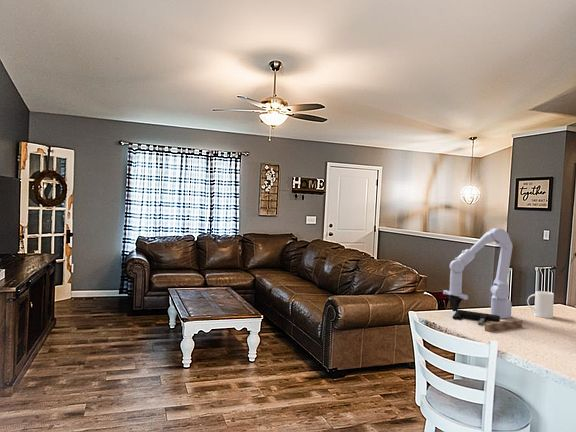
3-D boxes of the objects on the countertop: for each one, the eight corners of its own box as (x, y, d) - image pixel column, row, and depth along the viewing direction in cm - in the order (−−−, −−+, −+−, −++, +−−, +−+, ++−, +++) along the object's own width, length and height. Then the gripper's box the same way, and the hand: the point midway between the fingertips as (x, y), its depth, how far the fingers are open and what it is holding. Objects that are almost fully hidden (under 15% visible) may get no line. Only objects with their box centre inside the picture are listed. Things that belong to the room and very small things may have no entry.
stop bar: (518, 325, 204) (518, 319, 204) (522, 326, 202) (522, 320, 202) (484, 330, 195) (484, 323, 194) (488, 331, 193) (488, 324, 193)
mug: (526, 315, 224) (527, 292, 224) (526, 312, 232) (527, 289, 232) (553, 319, 219) (554, 295, 218) (552, 315, 226) (554, 292, 226)
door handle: (496, 323, 199) (500, 314, 213) (449, 316, 210) (457, 308, 224) (495, 330, 200) (500, 320, 213) (449, 323, 210) (456, 314, 224)
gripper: (439, 282, 228) (438, 308, 229) (461, 287, 215) (460, 314, 216) (449, 281, 231) (448, 307, 232) (471, 286, 218) (470, 313, 219)
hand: (454, 310), depth 224 cm, fingers closed
